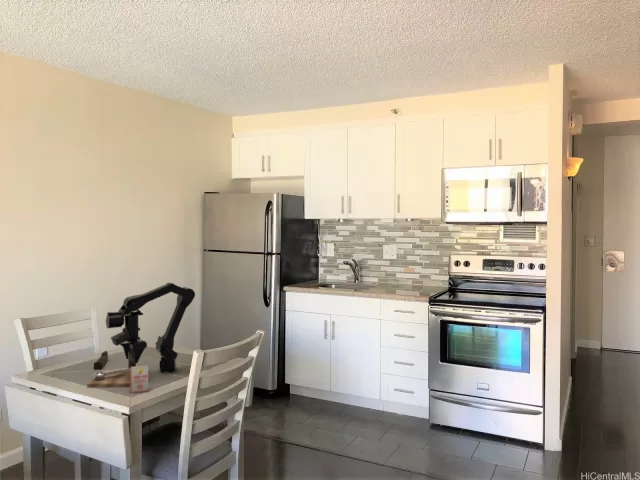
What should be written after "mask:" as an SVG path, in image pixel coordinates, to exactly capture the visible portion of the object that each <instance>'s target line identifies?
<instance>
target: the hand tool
mask: <svg viewBox="0 0 640 480" xmlns="http://www.w3.org/2000/svg"><path fill="white" fill-rule="evenodd" d="M108 354H109V353H108V351H107V350H104V351H103V352H101V355H100V357H99V359H97V361H94V363H93V369H94V370H98V371H100V370H102V369H103V367H104V365H105V363H107V362H108V360H109V356H108Z"/></svg>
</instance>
